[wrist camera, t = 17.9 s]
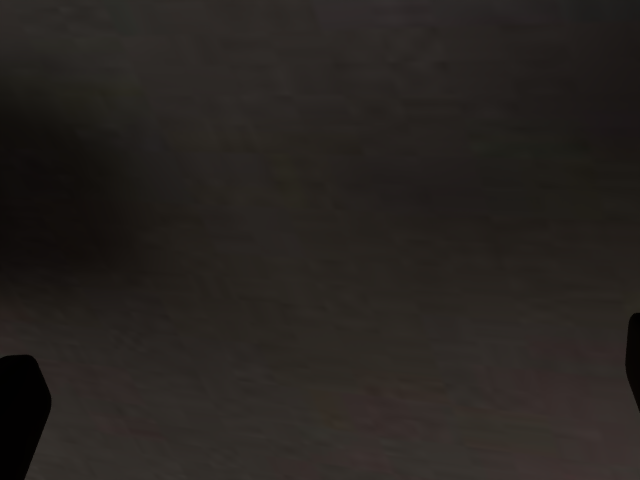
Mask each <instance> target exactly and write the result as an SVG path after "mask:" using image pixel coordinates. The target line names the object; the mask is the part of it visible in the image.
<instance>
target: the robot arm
mask: <svg viewBox="0 0 640 480" xmlns="http://www.w3.org/2000/svg"><path fill="white" fill-rule="evenodd" d="M625 366H626V374H627V378H628V381H629V384H630V386H631V389H632V392H633V395H634V397H635V400H636V403H637V406H638V409H639V411H640V313H634V314H633V315H632V316H631V318H630V320H629V325H628V336H627V348H626V359H625ZM50 410H51V394H50V391H49V389H48V387H47V384H46V382H45V380H44V377H43V375H42V372H41V370H40V368H39V365H38V363H37V361H36V359H35V358H34V357H32V356H30V355H11V356H5V357H2V358H0V480H24V479H25V476H26V474H27V471H28V469H29V466H30V463H31V461H32V458H33V455H34V453H35V450H36V447H37V445H38V442H39V439H40V437H41V434H42V431H43V429H44V426H45V424H46V421H47V418H48V416H49V413H50Z"/></svg>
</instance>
